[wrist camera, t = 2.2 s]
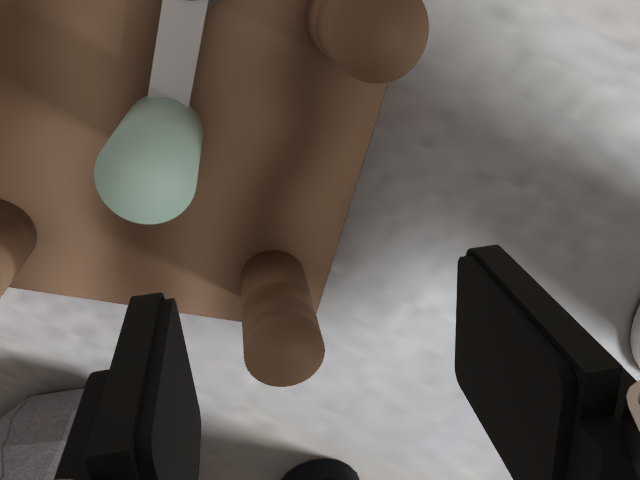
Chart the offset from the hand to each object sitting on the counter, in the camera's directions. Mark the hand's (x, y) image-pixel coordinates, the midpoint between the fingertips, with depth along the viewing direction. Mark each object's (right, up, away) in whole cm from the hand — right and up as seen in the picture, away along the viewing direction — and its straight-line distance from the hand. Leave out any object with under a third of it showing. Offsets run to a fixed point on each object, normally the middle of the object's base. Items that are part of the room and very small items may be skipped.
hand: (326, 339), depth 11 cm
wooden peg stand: (-8, +8, +19) cm, 22 cm away
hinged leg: (-7, +10, +15) cm, 19 cm away
